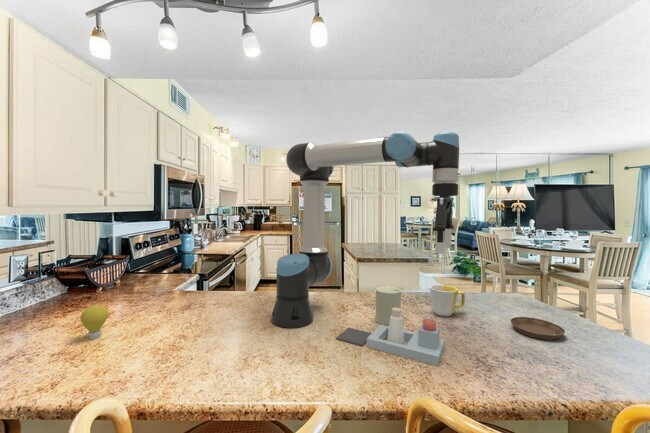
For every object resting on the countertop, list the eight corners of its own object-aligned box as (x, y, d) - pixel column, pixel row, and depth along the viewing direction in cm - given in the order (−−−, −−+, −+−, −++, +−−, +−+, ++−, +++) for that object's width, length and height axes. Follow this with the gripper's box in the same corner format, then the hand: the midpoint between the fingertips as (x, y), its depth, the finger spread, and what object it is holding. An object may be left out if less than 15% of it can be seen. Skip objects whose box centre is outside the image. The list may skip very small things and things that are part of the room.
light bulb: (113, 335, 91) (113, 303, 91) (90, 344, 85) (89, 310, 84) (98, 331, 93) (98, 301, 93) (75, 340, 87) (74, 307, 86)
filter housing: (366, 346, 85) (367, 323, 85) (380, 332, 96) (380, 311, 95) (438, 366, 75) (438, 339, 75) (444, 347, 85) (445, 324, 85)
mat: (336, 339, 90) (336, 337, 90) (348, 329, 98) (348, 327, 98) (362, 346, 85) (362, 344, 85) (373, 335, 93) (373, 333, 93)
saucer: (563, 347, 87) (563, 339, 86) (506, 333, 97) (506, 325, 96) (566, 332, 97) (566, 324, 97) (514, 320, 107) (514, 313, 107)
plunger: (421, 329, 81) (421, 322, 81) (423, 325, 84) (424, 318, 84) (434, 332, 79) (434, 325, 79) (436, 327, 82) (437, 320, 82)
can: (401, 326, 100) (402, 292, 100) (374, 324, 102) (375, 290, 102) (400, 317, 109) (400, 285, 109) (375, 315, 111) (375, 284, 111)
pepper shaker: (408, 344, 87) (409, 308, 87) (399, 350, 83) (400, 313, 83) (392, 338, 91) (393, 304, 90) (383, 344, 87) (383, 308, 86)
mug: (433, 318, 108) (434, 290, 108) (426, 309, 118) (426, 283, 118) (471, 319, 107) (472, 292, 107) (460, 310, 117) (461, 284, 117)
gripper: (453, 179, 78) (451, 257, 78) (462, 186, 99) (460, 247, 100) (424, 180, 82) (423, 254, 82) (438, 186, 103) (437, 245, 104)
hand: (443, 250), depth 91 cm, fingers open, 13 cm apart
